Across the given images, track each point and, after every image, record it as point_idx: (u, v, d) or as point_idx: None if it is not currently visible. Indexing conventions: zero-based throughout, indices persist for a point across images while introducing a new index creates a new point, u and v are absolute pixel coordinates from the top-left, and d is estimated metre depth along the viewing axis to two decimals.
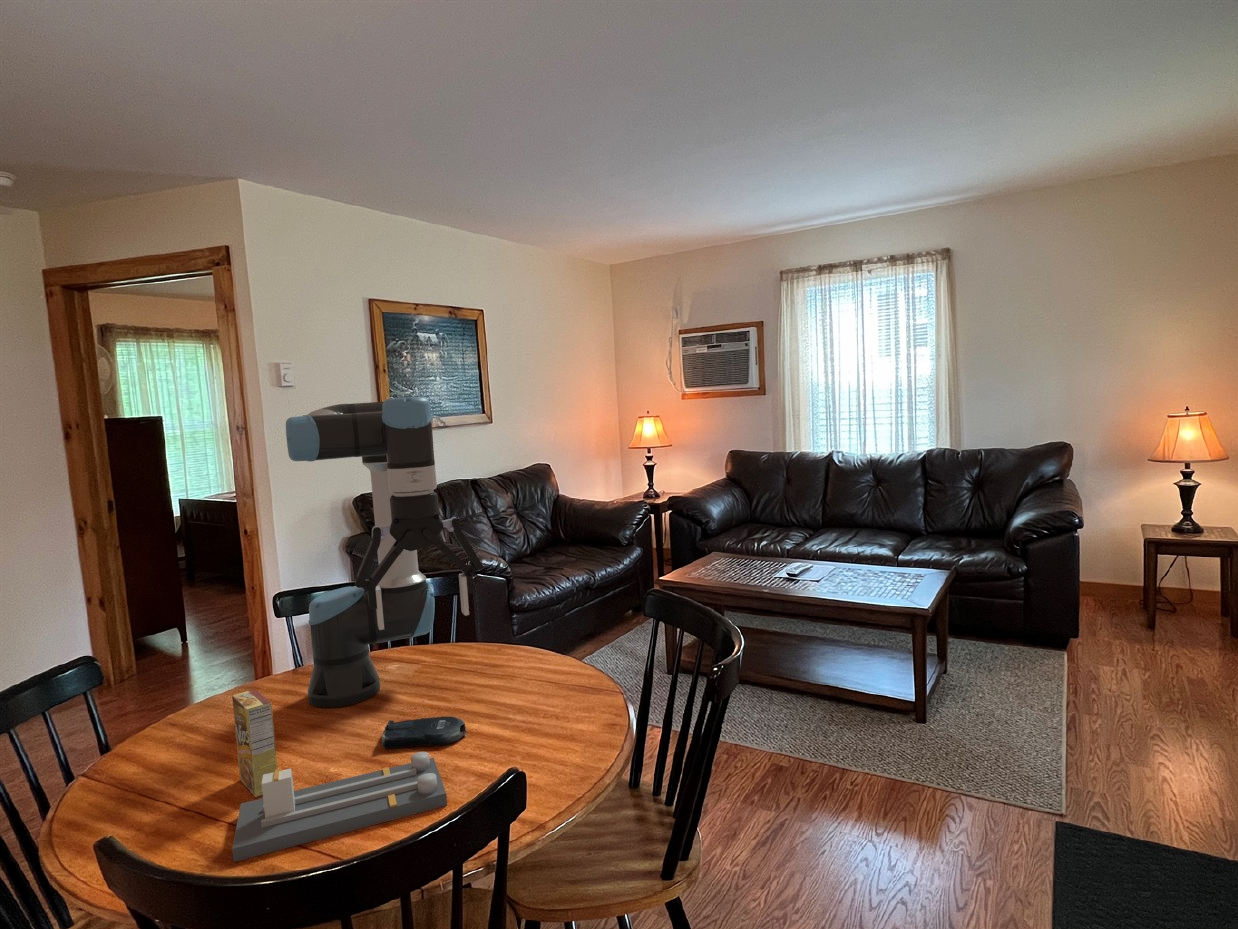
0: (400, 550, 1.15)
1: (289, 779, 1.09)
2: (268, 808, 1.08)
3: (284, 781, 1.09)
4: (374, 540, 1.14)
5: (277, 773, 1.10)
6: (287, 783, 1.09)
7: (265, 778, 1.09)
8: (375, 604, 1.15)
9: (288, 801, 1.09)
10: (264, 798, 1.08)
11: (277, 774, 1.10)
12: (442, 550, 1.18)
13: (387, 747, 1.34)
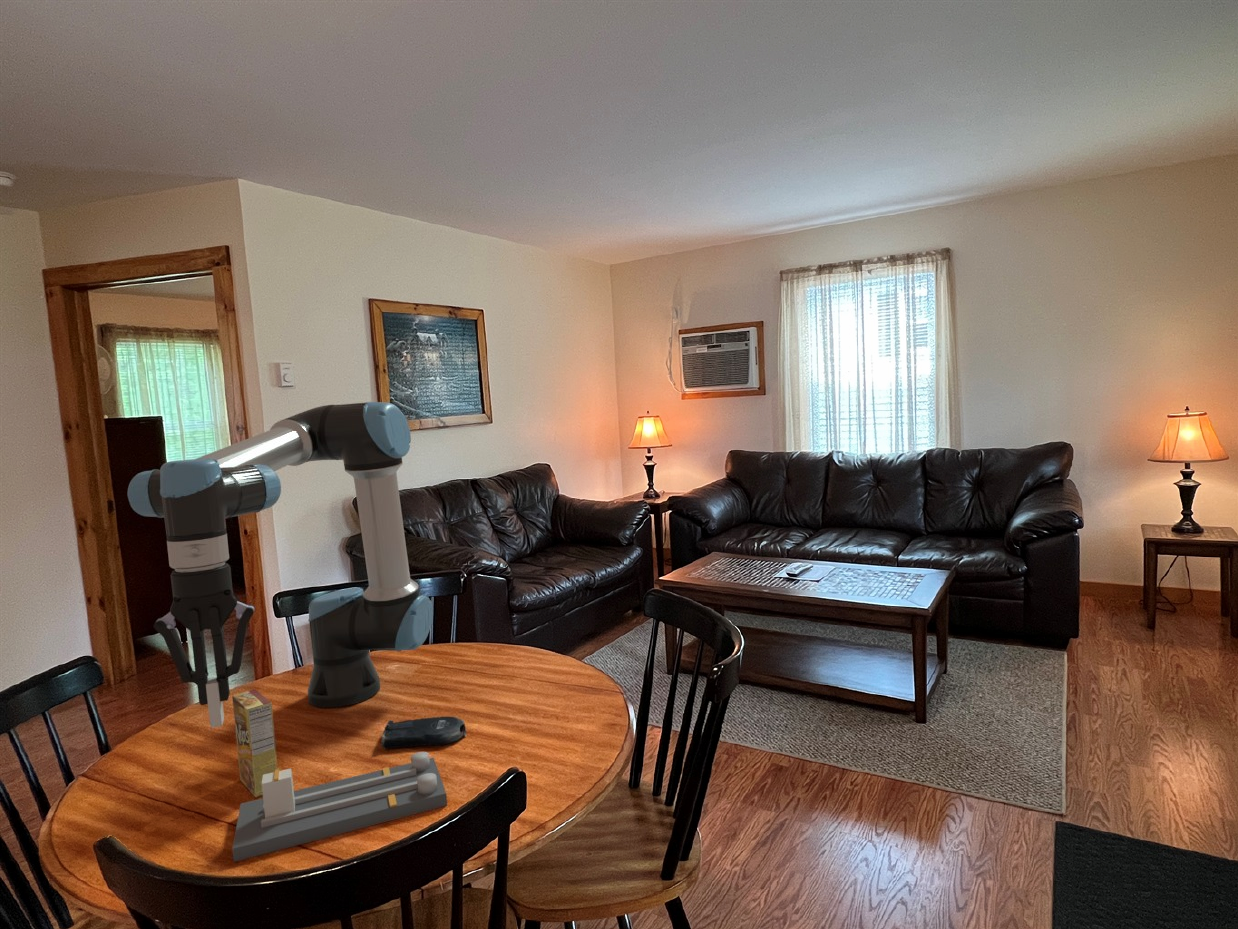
0: (197, 633, 1.03)
1: (289, 779, 1.09)
2: (268, 808, 1.08)
3: (284, 781, 1.09)
4: (163, 635, 1.02)
5: (277, 773, 1.10)
6: (287, 783, 1.09)
7: (265, 778, 1.09)
8: (206, 699, 1.05)
9: (288, 801, 1.09)
10: (264, 798, 1.08)
11: (277, 774, 1.10)
12: (214, 638, 1.04)
13: (387, 747, 1.34)
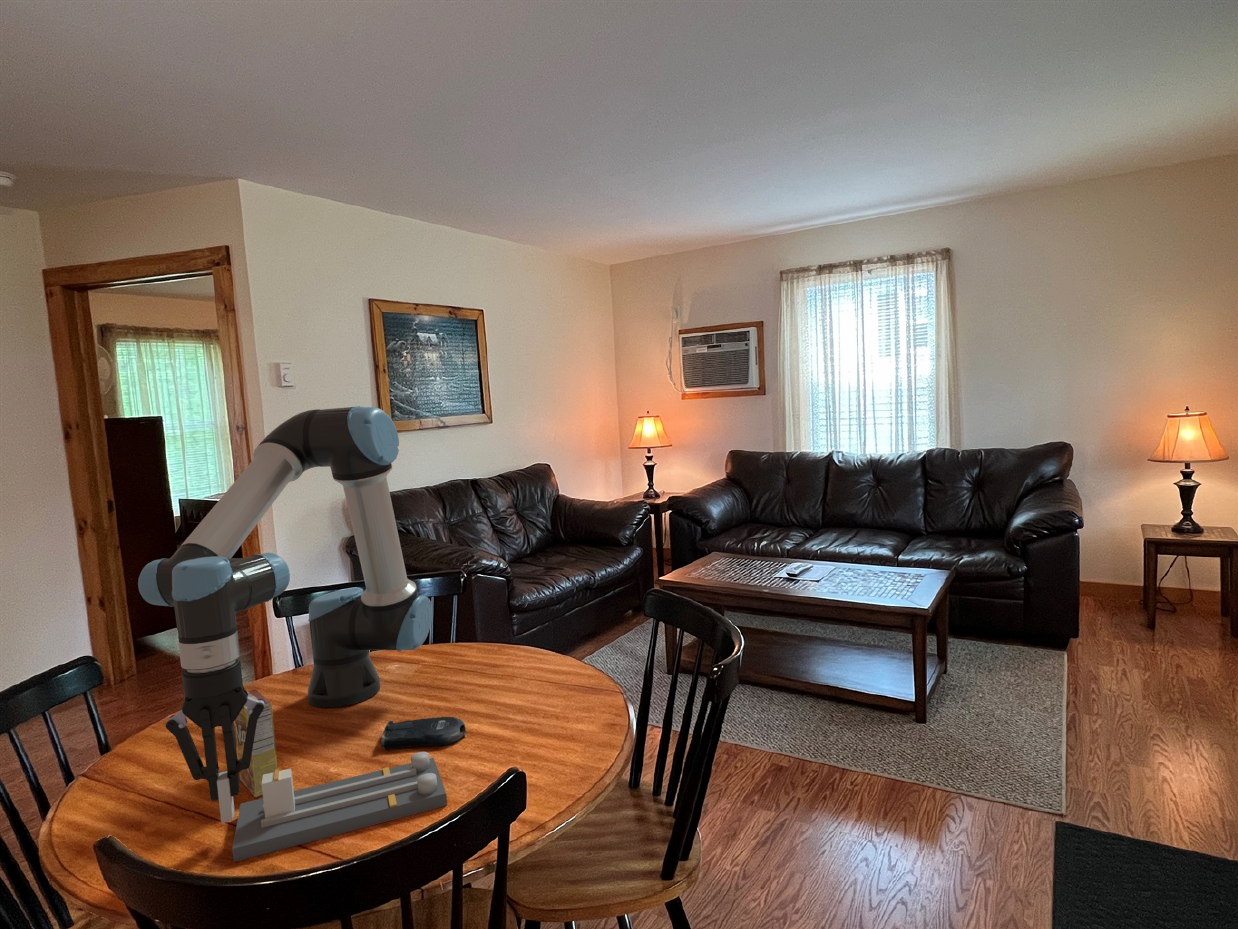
0: (208, 731, 1.04)
1: (289, 779, 1.09)
2: (268, 808, 1.08)
3: (284, 781, 1.09)
4: (175, 734, 1.03)
5: (277, 773, 1.10)
6: (287, 783, 1.09)
7: (265, 778, 1.09)
8: (217, 795, 1.06)
9: (288, 801, 1.09)
10: (264, 798, 1.08)
11: (277, 774, 1.10)
12: (225, 735, 1.06)
13: (387, 748, 1.33)
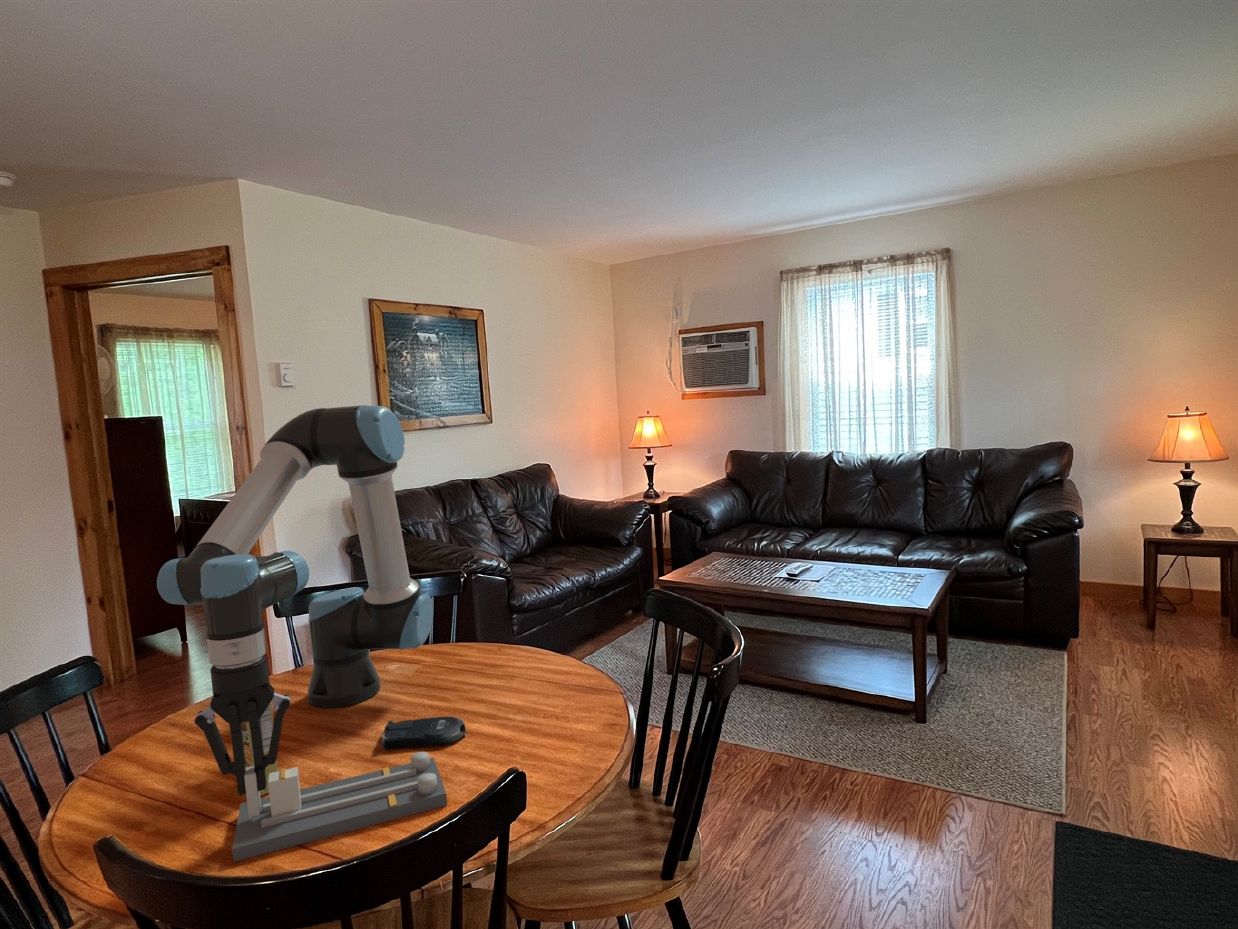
0: (236, 727, 1.06)
1: (295, 778, 1.10)
2: (274, 806, 1.09)
3: (291, 780, 1.09)
4: (203, 729, 1.05)
5: (283, 772, 1.10)
6: (293, 781, 1.10)
7: (271, 777, 1.10)
8: (244, 789, 1.08)
9: (295, 799, 1.10)
10: (271, 796, 1.08)
11: (283, 773, 1.10)
12: (252, 730, 1.07)
13: (387, 747, 1.33)
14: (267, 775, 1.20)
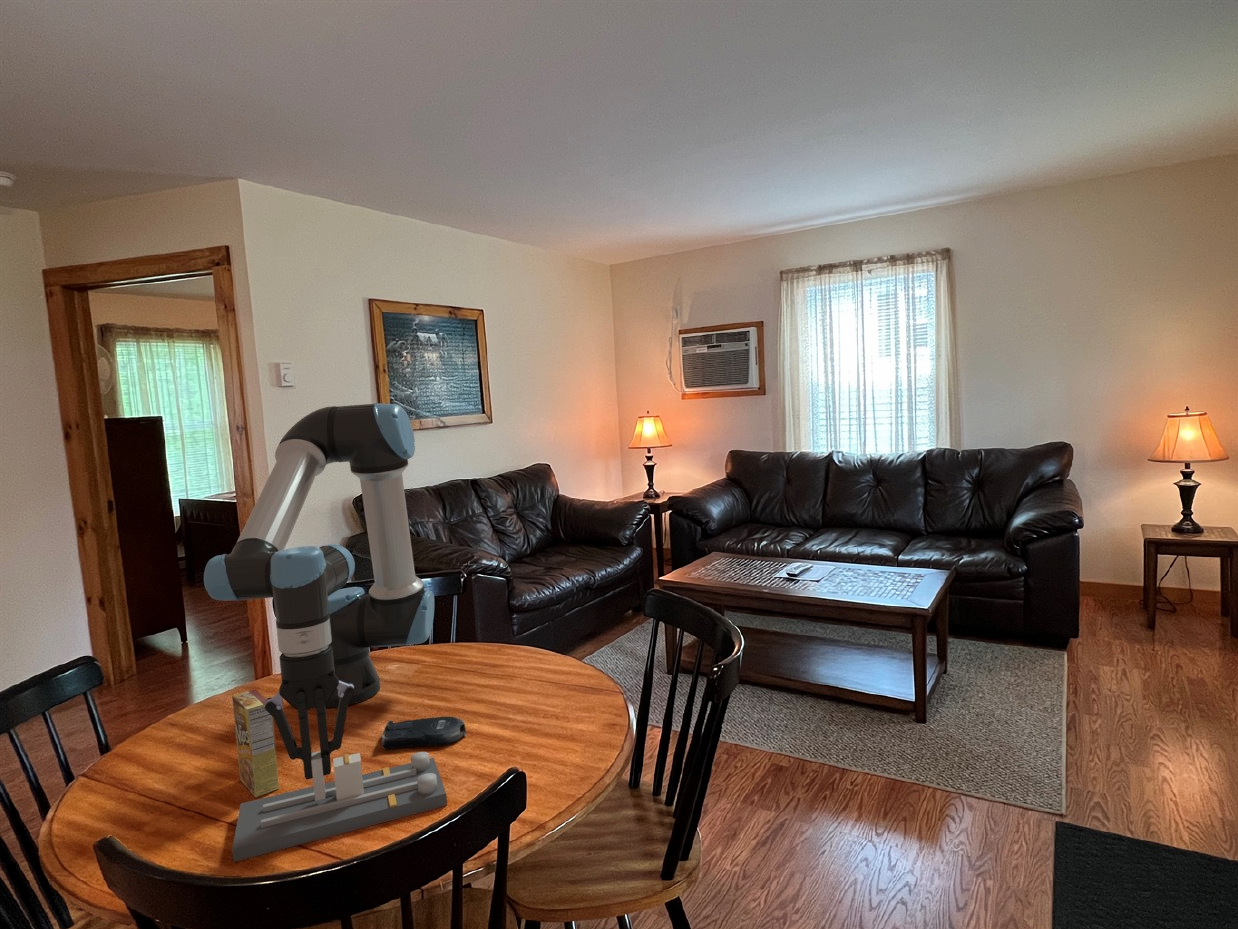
0: (304, 713, 1.09)
1: (359, 763, 1.13)
2: (339, 790, 1.12)
3: (355, 765, 1.13)
4: (273, 715, 1.08)
5: (347, 757, 1.14)
6: (357, 766, 1.13)
7: (336, 762, 1.13)
8: (311, 774, 1.11)
9: (359, 784, 1.13)
10: (336, 781, 1.12)
11: (347, 758, 1.14)
12: (318, 717, 1.11)
13: (387, 747, 1.33)
14: (267, 775, 1.20)
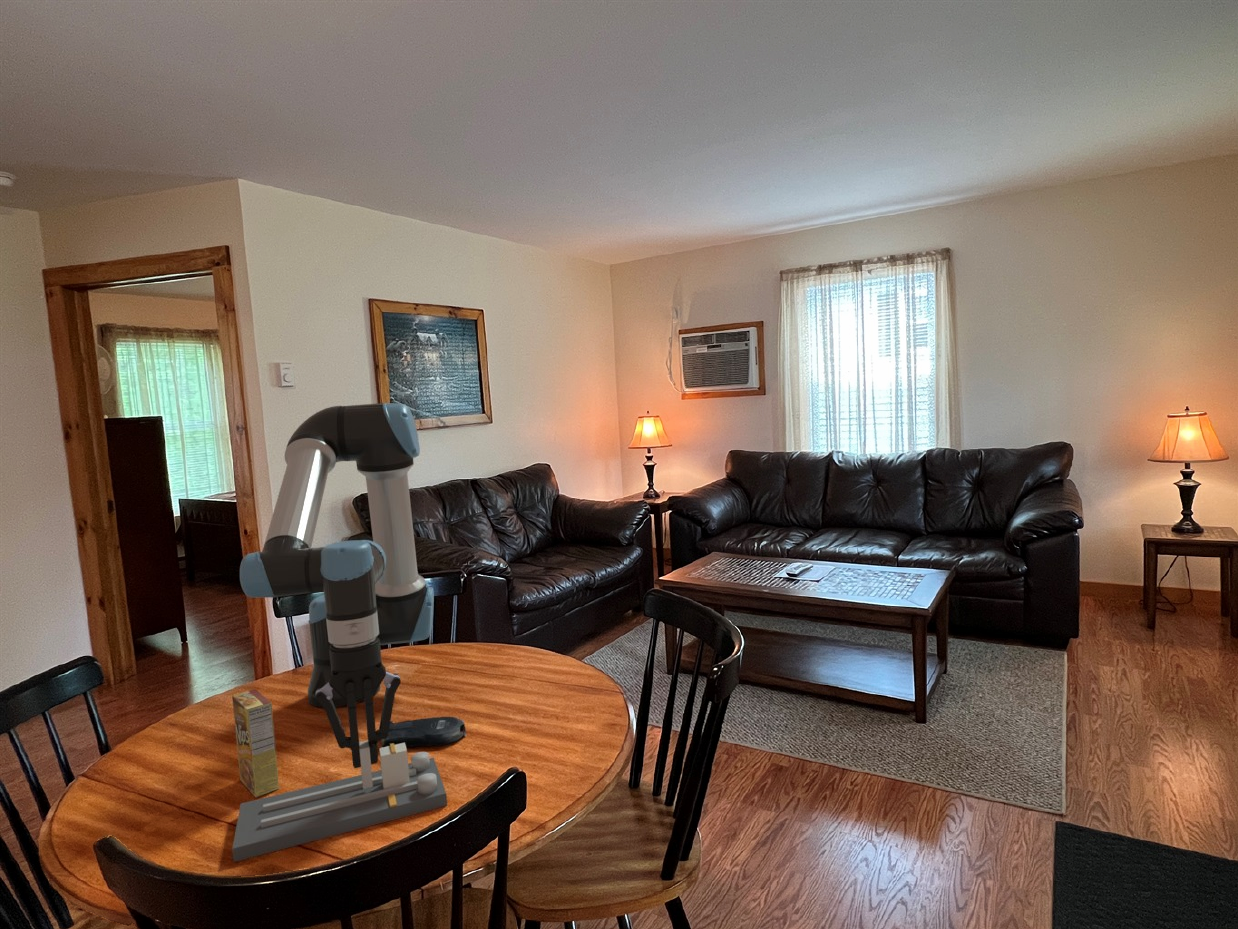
0: (353, 703, 1.12)
1: (405, 752, 1.16)
2: (386, 779, 1.15)
3: (401, 754, 1.16)
4: (323, 705, 1.11)
5: (393, 746, 1.17)
6: (403, 756, 1.16)
7: (382, 751, 1.16)
8: (359, 763, 1.14)
9: (405, 772, 1.16)
10: (383, 770, 1.15)
11: (393, 747, 1.16)
12: (366, 707, 1.13)
13: None
14: (267, 775, 1.20)
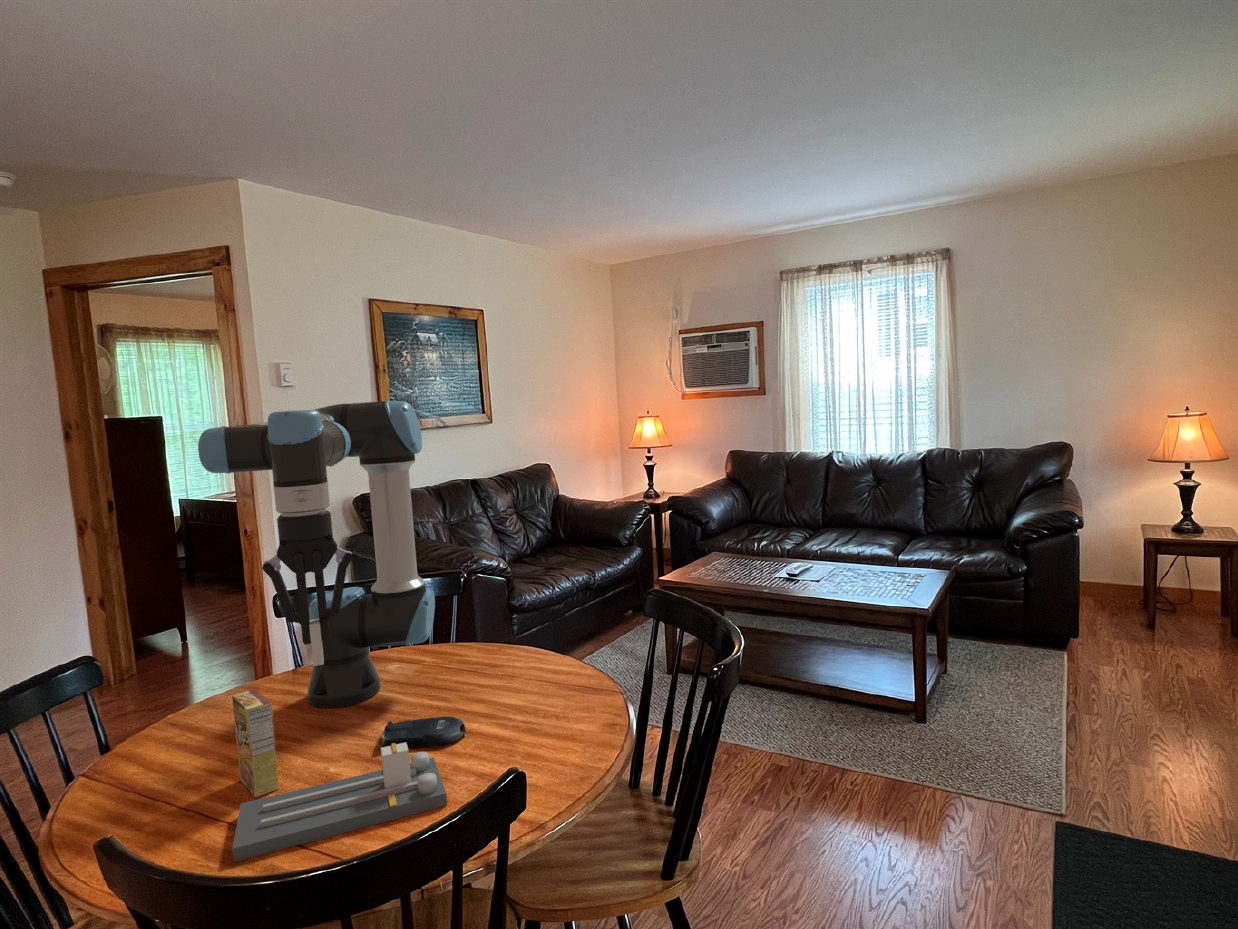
0: (302, 575, 1.08)
1: (407, 752, 1.16)
2: (387, 779, 1.15)
3: (402, 754, 1.16)
4: (271, 576, 1.07)
5: (395, 746, 1.17)
6: (405, 755, 1.16)
7: (384, 751, 1.16)
8: (309, 639, 1.10)
9: (406, 772, 1.16)
10: (384, 769, 1.15)
11: (395, 747, 1.16)
12: (316, 581, 1.10)
13: None
14: (267, 775, 1.20)
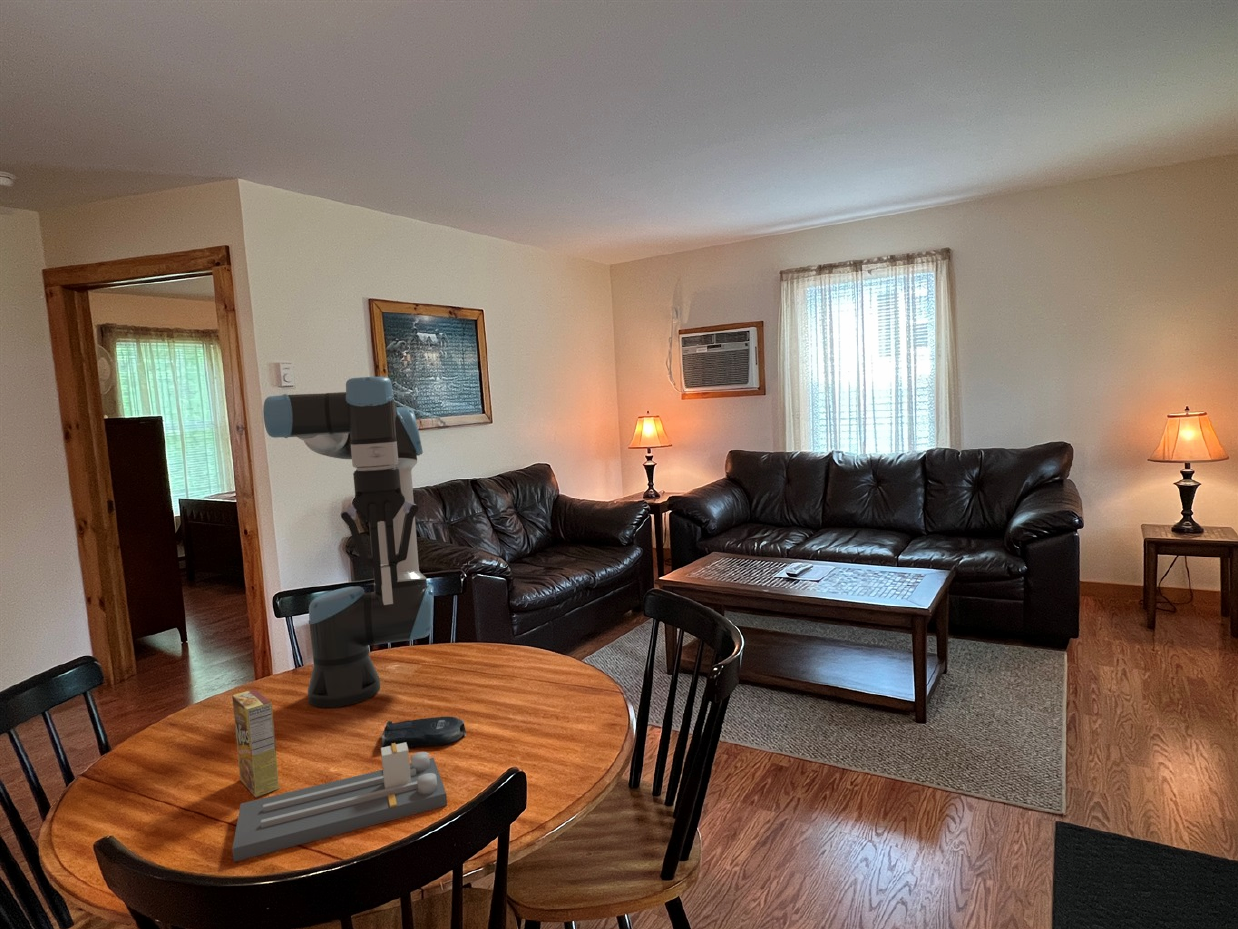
0: (375, 523, 1.22)
1: (407, 752, 1.16)
2: (387, 779, 1.15)
3: (402, 754, 1.16)
4: (348, 524, 1.21)
5: (395, 746, 1.17)
6: (405, 755, 1.16)
7: (384, 751, 1.16)
8: (380, 581, 1.24)
9: (406, 772, 1.16)
10: (384, 769, 1.15)
11: (395, 747, 1.16)
12: (387, 529, 1.24)
13: None
14: (267, 775, 1.20)
